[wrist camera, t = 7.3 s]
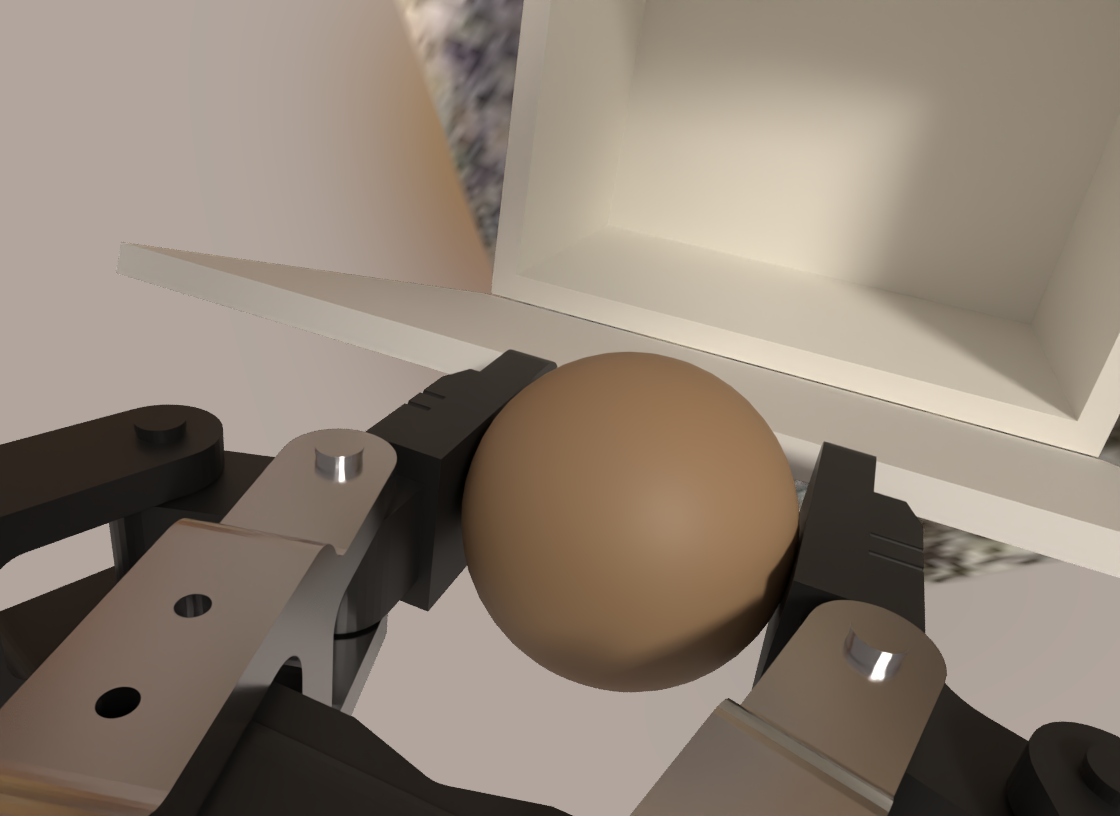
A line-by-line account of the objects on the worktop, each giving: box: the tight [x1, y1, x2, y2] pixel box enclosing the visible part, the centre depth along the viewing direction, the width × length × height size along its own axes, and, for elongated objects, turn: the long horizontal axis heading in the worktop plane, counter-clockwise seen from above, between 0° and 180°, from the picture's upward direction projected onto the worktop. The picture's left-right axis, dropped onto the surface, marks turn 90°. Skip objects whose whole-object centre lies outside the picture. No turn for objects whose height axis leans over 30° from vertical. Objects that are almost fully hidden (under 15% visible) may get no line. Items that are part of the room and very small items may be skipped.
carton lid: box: [116, 242, 1120, 692], centre depth 19 cm, size 23×22×4 cm
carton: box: [491, 0, 1120, 457], centre depth 31 cm, size 18×22×12 cm
